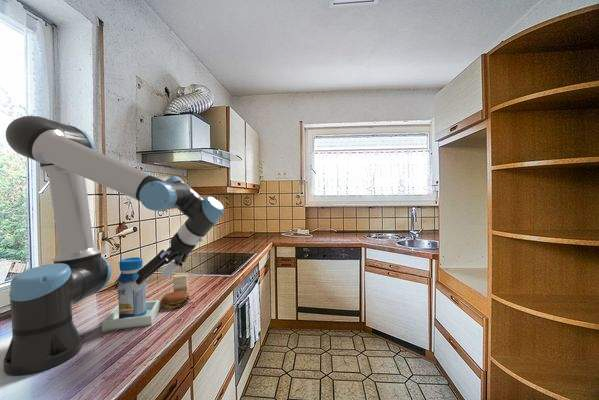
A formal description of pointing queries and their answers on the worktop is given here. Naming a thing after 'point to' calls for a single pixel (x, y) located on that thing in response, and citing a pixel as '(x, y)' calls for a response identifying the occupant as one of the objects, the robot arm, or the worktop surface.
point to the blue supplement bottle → (130, 289)
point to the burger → (174, 299)
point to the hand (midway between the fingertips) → (150, 282)
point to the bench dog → (180, 282)
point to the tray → (131, 318)
